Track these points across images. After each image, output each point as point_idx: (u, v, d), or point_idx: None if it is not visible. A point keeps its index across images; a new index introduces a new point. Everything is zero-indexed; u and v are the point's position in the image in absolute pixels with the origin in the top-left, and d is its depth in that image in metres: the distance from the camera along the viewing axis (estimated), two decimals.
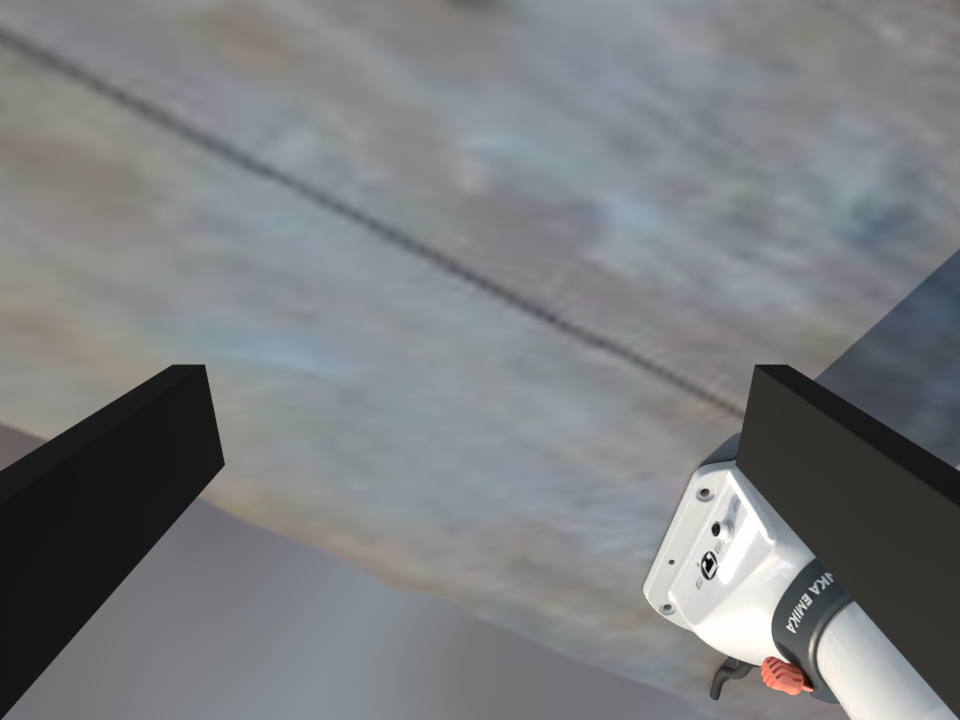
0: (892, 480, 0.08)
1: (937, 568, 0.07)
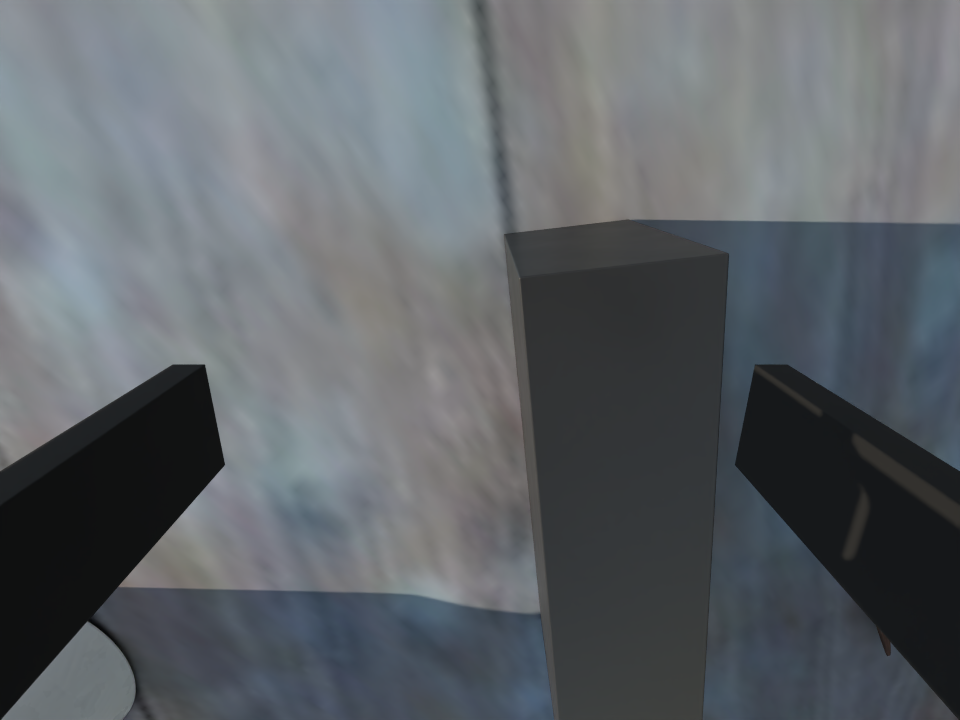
0: (892, 480, 0.08)
1: (937, 568, 0.07)
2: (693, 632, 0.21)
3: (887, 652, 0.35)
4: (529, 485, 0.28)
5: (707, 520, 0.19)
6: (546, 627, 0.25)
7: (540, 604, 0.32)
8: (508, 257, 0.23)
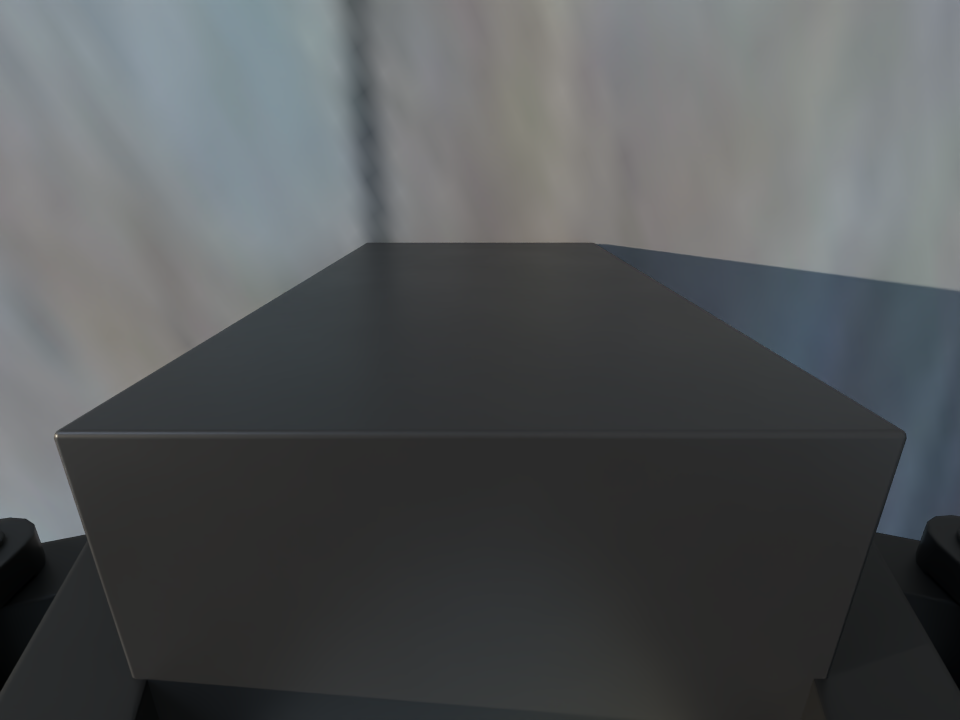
0: None
1: None
2: None
3: None
4: None
5: None
6: None
7: None
8: None
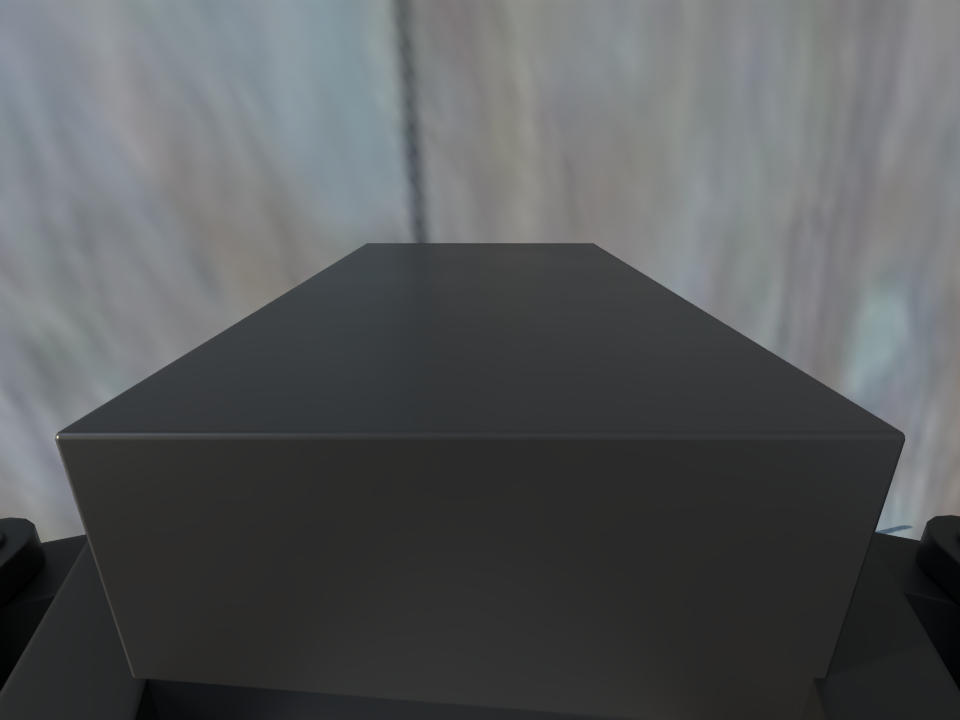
0: None
1: None
2: None
3: None
4: None
5: None
6: None
7: None
8: None
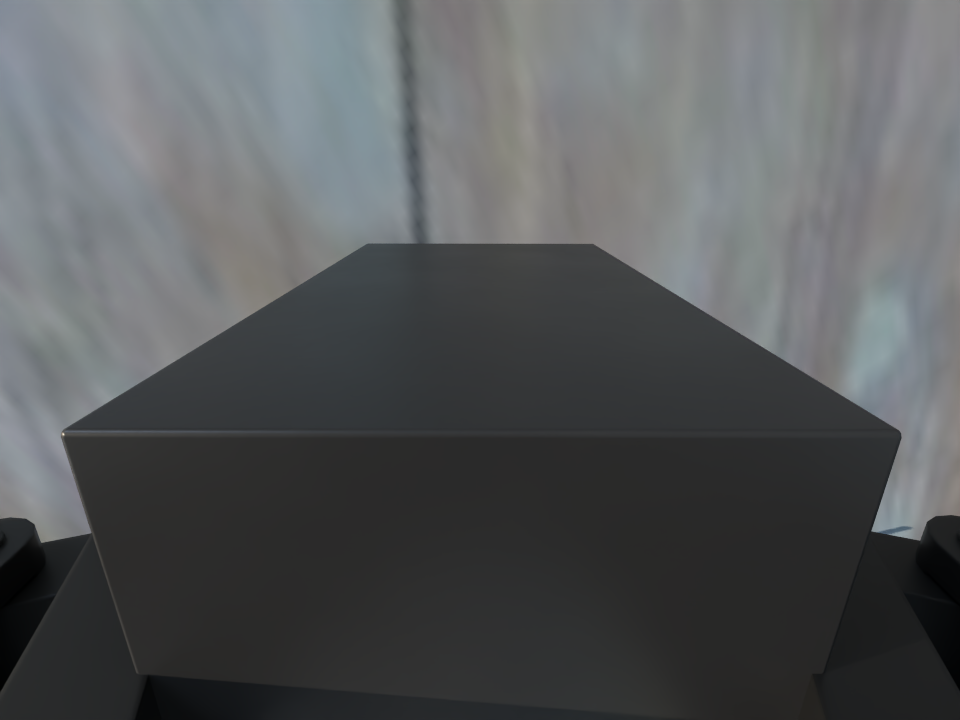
0: None
1: None
2: None
3: None
4: None
5: None
6: None
7: None
8: None
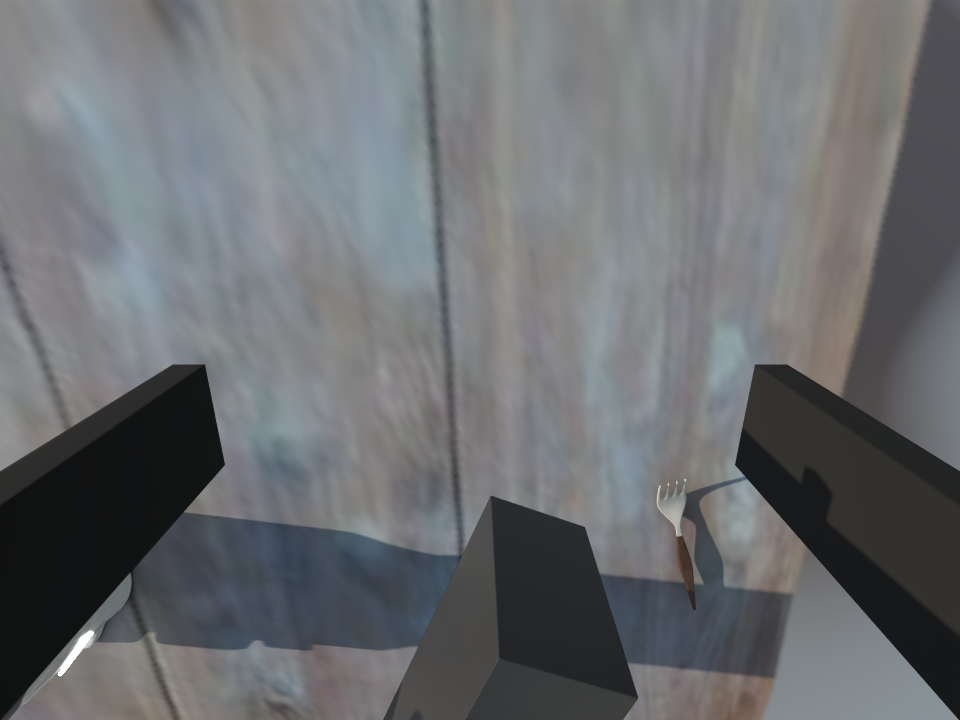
0: (892, 480, 0.08)
1: (937, 568, 0.07)
2: None
3: (693, 607, 0.48)
4: (412, 683, 0.33)
5: None
6: None
7: None
8: (488, 543, 0.28)
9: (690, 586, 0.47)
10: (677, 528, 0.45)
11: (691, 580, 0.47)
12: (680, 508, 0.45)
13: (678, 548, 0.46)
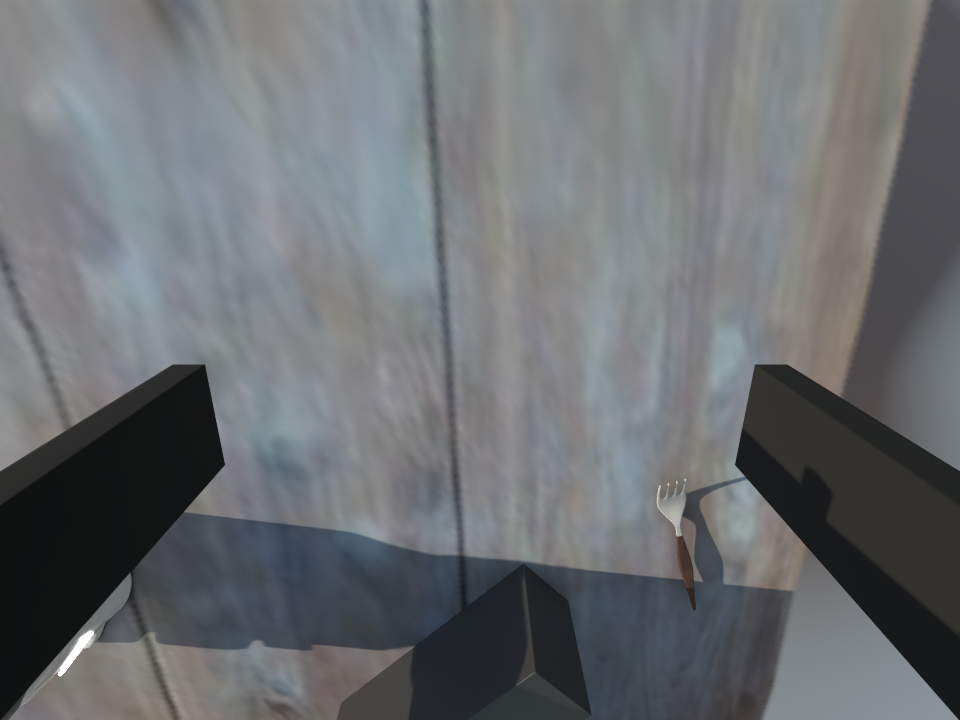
0: (892, 480, 0.08)
1: (937, 568, 0.07)
2: None
3: (693, 607, 0.48)
4: (421, 661, 0.48)
5: None
6: None
7: (358, 703, 0.51)
8: (521, 597, 0.44)
9: (690, 586, 0.47)
10: (677, 528, 0.45)
11: (691, 580, 0.47)
12: (680, 508, 0.45)
13: (678, 548, 0.46)
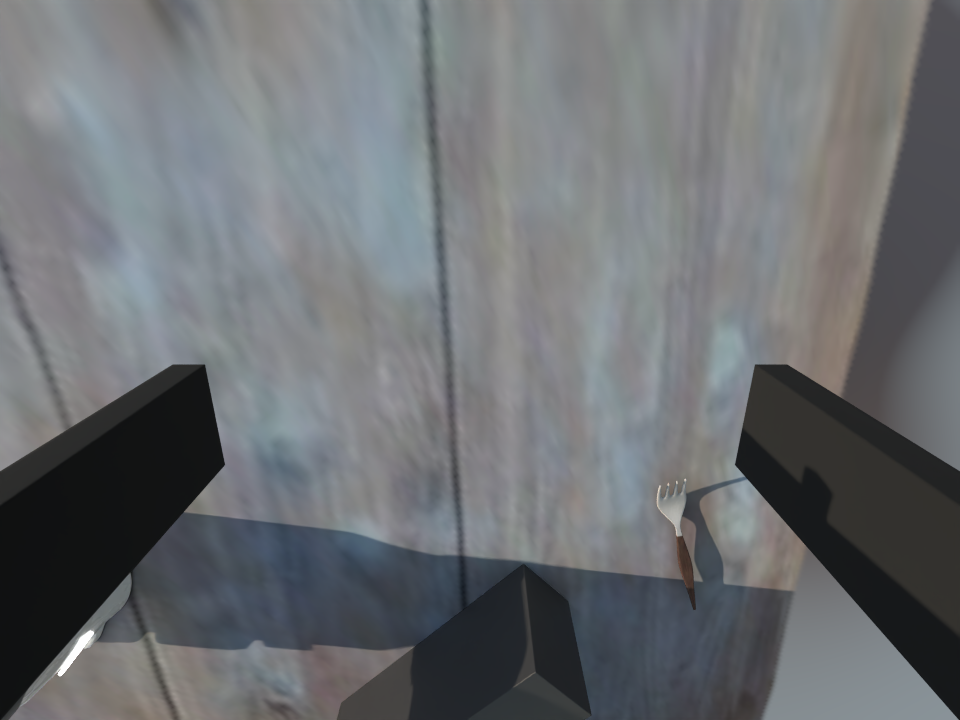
0: (892, 480, 0.08)
1: (937, 568, 0.07)
2: None
3: (693, 607, 0.48)
4: (421, 661, 0.48)
5: None
6: None
7: (358, 703, 0.51)
8: (521, 597, 0.44)
9: (690, 586, 0.47)
10: (677, 528, 0.45)
11: (691, 580, 0.47)
12: (680, 508, 0.45)
13: (678, 548, 0.46)
